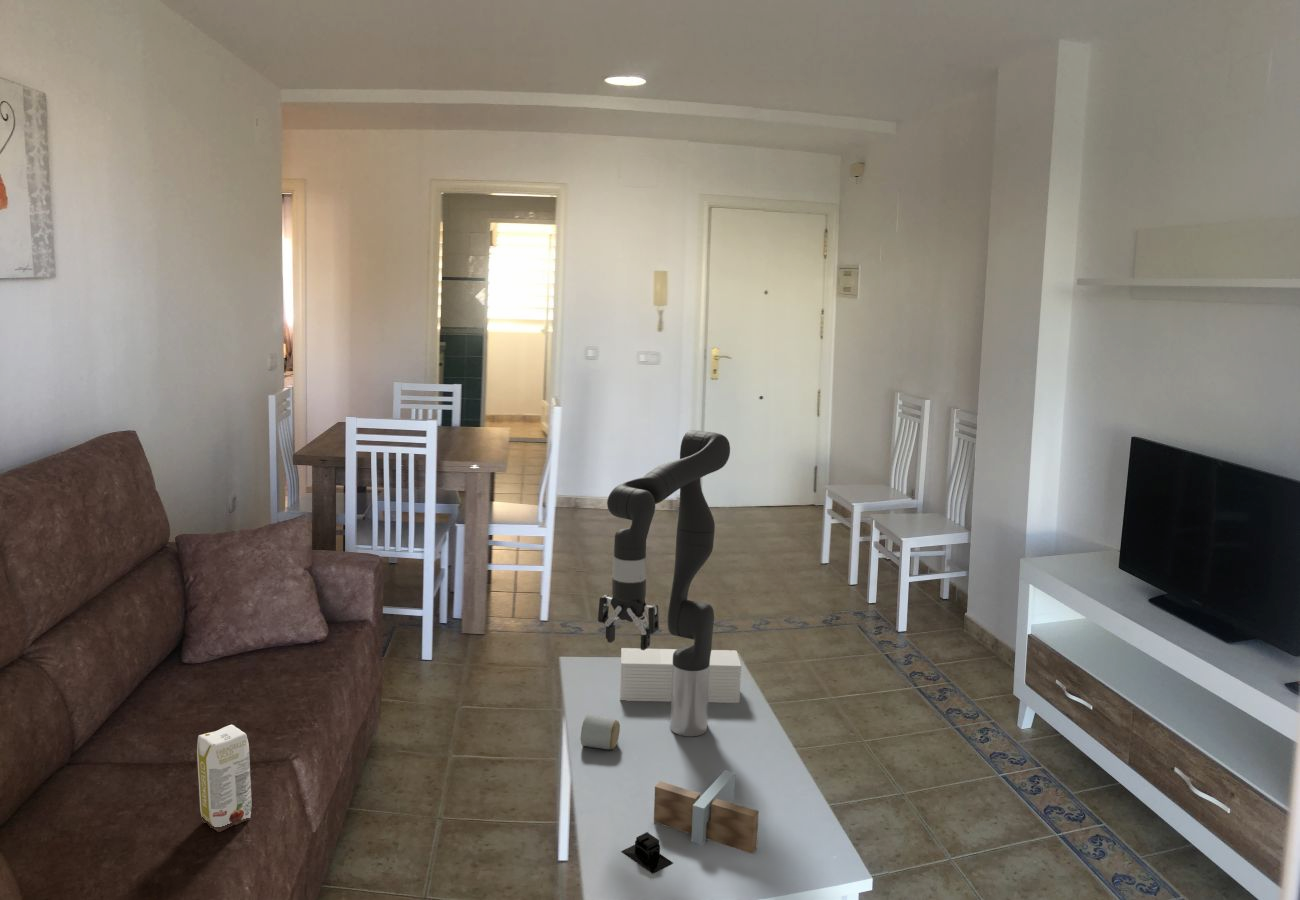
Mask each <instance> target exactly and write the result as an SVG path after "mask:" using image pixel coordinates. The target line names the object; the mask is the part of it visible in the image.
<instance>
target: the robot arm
mask: <svg viewBox="0 0 1300 900" xmlns="http://www.w3.org/2000/svg"><path fill="white" fill-rule="evenodd" d="M730 453H731V446H730V442H729V439H728V438H727V437H726V436H725V435H723V434H721V433H717V432H711V431H702V430H693V429H692V430H688V431H687V432H686V433H685V434H684V436H683V437H682V440H681V443H680V451H679V459H675V460H673V461H668V462H666V463H662V464H661V465H658V466H657V467H654V468H653V469H651V470H650V471H649V472H648V473H646V474H645V475H643V476H641V477H638V478H634V479H630V480H628V481H625V482H623V483H620V484H618V485H617V486H615V487H614V488H613V489H612V490H611V491H610V493H609V495H608V497H607V501H606V505H607V510H608V511H609V513H610V514H611V515H613V517H616V518H619V519H624V520H625V519H626V520H629V521H631V525H630V527H627V528H621V529H619V530H617V531H616V532H615V534H614V540H613V541H614V545H613V546H614V549H613V562H612V572H611V573H612V574H611V575H612V578H611V579H612V580H611V581H612V582H611V596H612V597H610V595H609V594H604V595H603V596H601V597H599V599H598V600H599V601H598V602H599V603H598V613H597V614H598V615H597V621H598V623H603V625H604V626H605V639H606V640H607V642H608V643H613V642H614V641H615V640H616V624H614V623H615V622H617V620H618V619H619V620H620V621H627V622H631V623H632V622H633V623H634V625H635V627H637V628H638V629H639V631H640V633H641V634H640V649H641V650H645V649H649V647H650V645H651V635H652V634H654V633H655V632H657V631H658V630H659V627H660V626H659V624H660V622H659V606H658V604H653V605H651V604H650V605H648V604H646V596H647V595H646V594H647V593H646V591H647V558H646V557H647V538H648V535H649V531H650V528H651V524H652V521H653V518H654V514H655V510H656V505H657V504H660V503H661V502H663V501H665V499H667V498H668V497H670V496H672V495H673V494H674V493H676V491H678V490H679V502H678V505H679V506H678V517H677V525H676V526H677V528H676V535H675V552H674V553H675V556H674V570H673V571H674V572H673V579H672V584H671V585H672V586H671V593H670V599H669V606H668V611H667V628H668V629H667V630H668V632H669V634H671V635H672V636H675V637H680V638H685V639H689V640H694V643H693V644H692V645H686V646H681V647H680V648H676V649H677V650H676V651H675V652H674V654H673V666H672V695H671V701H670V702H671V703H670V704H671V705H670V724H669V725H670V726H669V727H670V730H671V731H672V733H675V734H677V735H679V736H683V737H684V736H685V737H697V736H701V735H703V734H704V733H706V732H707V730H708V728H707V727H708V707H709V702H708V691H709V667H710V655H711V650H712V647H713V645H712V644H713V643H712V642H713V634H714V633H713V632H714V625H715V613H714V608H713V606H712V605H711V604H710V603H705V602H701V601H694V600H691V599H688V596H689V590H690V586H691V584H692V581H693V579H694V578H695V576H696V575H697V574H698V572H699V570H700V569H701V568H702V567H703V566H704V564H706V562H707V560H709V557H710V556H711V555H712V552H713V550H714V542H715V528H716V526H715V525H716V523H715V520H714V519H715V518H714V515H713V514H712V511H711V509H710V507H709V504H708V501H707V500H706V497H705V496H704V492H703V489H702V484H701V483H702V482H701V478H703V477H706V476H707V475H710V474H712V473H714V472H717V471H719V470H721V469H722V468H724V466H726V465H727V463H728V460H729V458H730V455H731V454H730ZM610 605H611V606H612V609H613V612H612V613H611V614H609V607H610ZM645 612H646V614H645ZM646 615H647V616H648V618H647V616H646Z"/></svg>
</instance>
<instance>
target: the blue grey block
mask: <svg viewBox="0 0 1300 900" xmlns="http://www.w3.org/2000/svg"><path fill="white" fill-rule="evenodd" d="M735 782H736V773H735V772H732V771H728V770H723V772H722V773H720V775H719V776H718V777H717V778H716V779H715V780H714V781H713V783H711V785H710V786H709V787H708V788H707V789H706V790H705V792H703V793H702V794H701V795H700V798H699V799H698V800H697V801H696V802H695V804H694V805H693V816H692V834H691V839H690V840H691V841H690V842H691V843H695V844H697V845H700V846H703V845H704V844H705V842H706V841H707V839H706V825H707V822H708V821H709V819H710V818H711V804H712V803H713V801H714V800H715V799H716V798H717V799H720V800H724V801H727V802H730V803H734V804H735V802H734V801H735V784H736V783H735Z"/></svg>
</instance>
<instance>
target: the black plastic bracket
mask: <svg viewBox="0 0 1300 900" xmlns="http://www.w3.org/2000/svg"><path fill="white" fill-rule="evenodd" d="M620 853H622V854H623V855H624V856H626V857H627V858H629V859H630V860H632V861H633V862H635V863H636V864H637V865H639V866H641V868H643V869H645V870H646V871H647V872H648V873H650V874H652V875H654V874H656V873H658V872H660V871H662V870H664V869H666V868H668V867H669V866H672V865H673V864H674V862H673V861H671V860H670V859H668V858H667V857H666V856H664V855H662V854H661V844H660V839H658V838H657V837H655V836H653V835H652V834H651V833H649V832H644V833H642V834H640V835H638V836H636V838H635V841H634V844H633V845H631V846H629V847H627V848H624V849H623V850H621V851H620Z"/></svg>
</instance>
